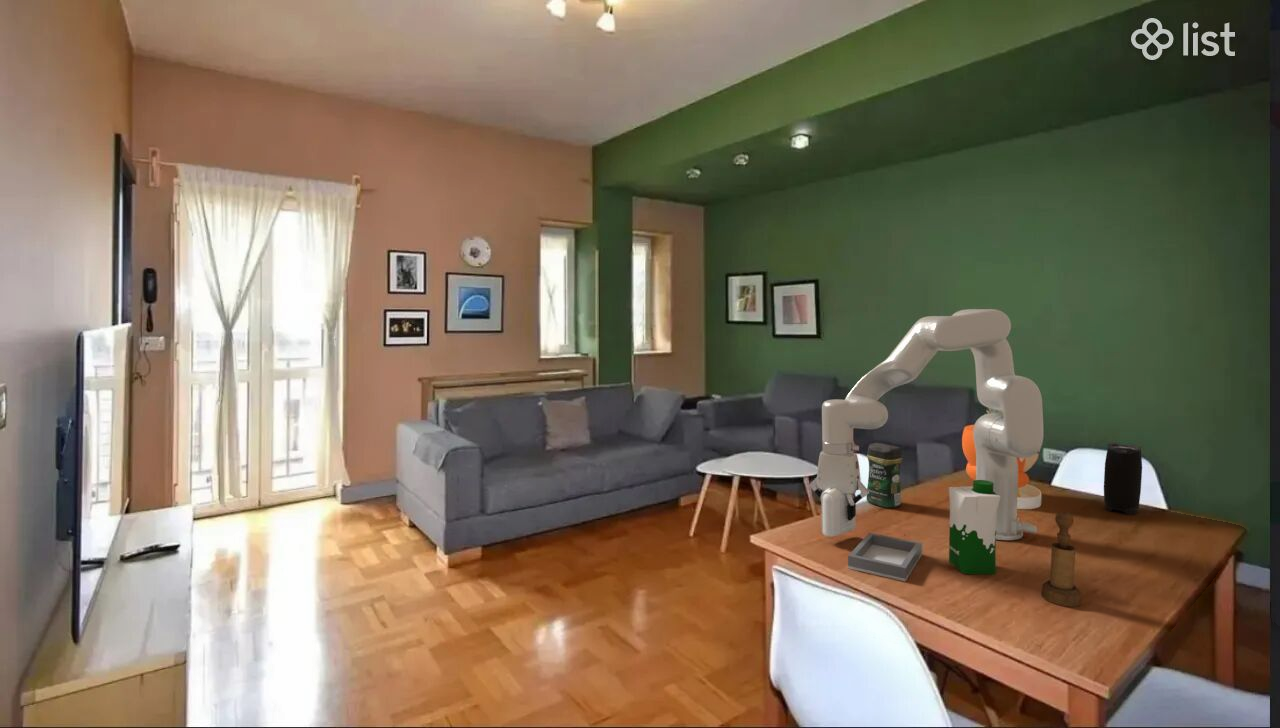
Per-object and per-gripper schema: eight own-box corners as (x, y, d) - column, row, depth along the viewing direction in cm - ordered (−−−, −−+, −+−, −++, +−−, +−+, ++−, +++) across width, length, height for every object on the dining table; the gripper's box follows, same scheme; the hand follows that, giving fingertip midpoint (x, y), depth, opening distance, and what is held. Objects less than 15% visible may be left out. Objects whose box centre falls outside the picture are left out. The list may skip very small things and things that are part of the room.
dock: (921, 554, 146) (922, 542, 146) (905, 581, 132) (905, 568, 132) (868, 544, 153) (869, 532, 153) (847, 568, 139) (848, 555, 139)
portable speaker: (1139, 509, 176) (1143, 444, 174) (1139, 517, 169) (1143, 450, 167) (1103, 503, 181) (1106, 441, 180) (1101, 511, 174) (1105, 446, 173)
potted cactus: (1024, 489, 197) (1027, 382, 194) (1054, 511, 175) (1058, 391, 172) (952, 486, 202) (954, 382, 199) (972, 507, 180) (975, 391, 177)
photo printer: (844, 524, 161) (843, 479, 160) (858, 529, 158) (857, 482, 157) (819, 534, 155) (818, 487, 154) (833, 539, 152) (832, 490, 151)
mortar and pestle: (1082, 610, 118) (1086, 520, 117) (1042, 602, 122) (1045, 515, 120) (1079, 596, 124) (1082, 510, 122) (1041, 589, 127) (1044, 505, 126)
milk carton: (1002, 575, 134) (1005, 487, 132) (960, 576, 134) (963, 488, 133) (981, 559, 143) (983, 476, 141) (942, 560, 143) (944, 477, 141)
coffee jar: (861, 502, 187) (862, 443, 185) (878, 497, 191) (879, 439, 189) (888, 510, 179) (889, 448, 177) (905, 505, 183) (906, 445, 181)
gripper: (876, 448, 153) (877, 518, 154) (810, 442, 163) (811, 507, 164) (868, 454, 146) (868, 527, 148) (800, 447, 157) (801, 515, 158)
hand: (838, 516), depth 156 cm, fingers closed on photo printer, 5 cm apart
